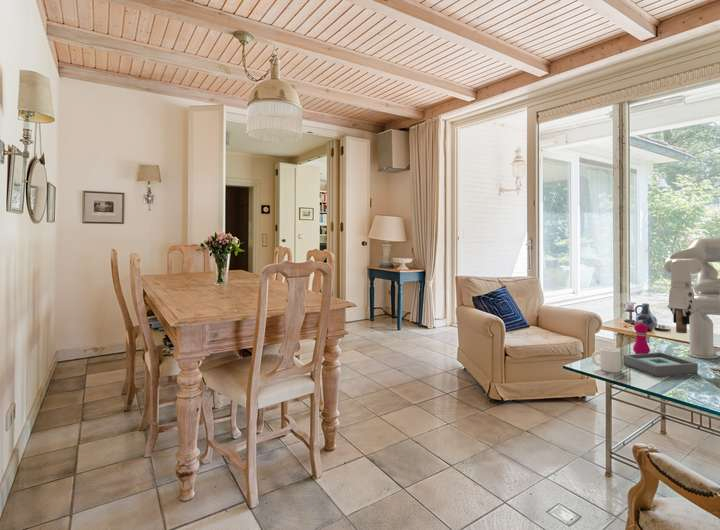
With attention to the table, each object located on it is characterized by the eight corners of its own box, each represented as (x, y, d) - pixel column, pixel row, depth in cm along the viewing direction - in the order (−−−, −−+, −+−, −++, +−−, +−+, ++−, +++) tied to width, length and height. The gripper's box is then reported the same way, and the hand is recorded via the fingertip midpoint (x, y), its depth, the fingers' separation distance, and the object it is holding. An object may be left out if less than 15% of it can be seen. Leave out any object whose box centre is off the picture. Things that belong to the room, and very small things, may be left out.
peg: (681, 331, 192) (681, 306, 192) (689, 333, 188) (688, 307, 188) (673, 331, 192) (673, 307, 192) (681, 333, 188) (681, 308, 188)
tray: (661, 362, 201) (660, 352, 201) (697, 374, 181) (697, 363, 181) (623, 364, 199) (623, 355, 199) (656, 377, 180) (656, 366, 179)
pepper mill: (652, 359, 205) (652, 321, 205) (637, 359, 207) (636, 321, 206) (645, 355, 212) (645, 318, 212) (630, 355, 214) (629, 319, 213)
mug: (591, 370, 194) (590, 349, 193) (592, 365, 200) (592, 345, 200) (620, 374, 187) (619, 352, 186) (621, 369, 193) (620, 348, 193)
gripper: (704, 286, 182) (705, 326, 182) (672, 283, 198) (673, 320, 199) (689, 287, 181) (690, 327, 181) (658, 284, 198) (659, 321, 198)
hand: (681, 323), depth 190 cm, fingers closed on peg, 4 cm apart
